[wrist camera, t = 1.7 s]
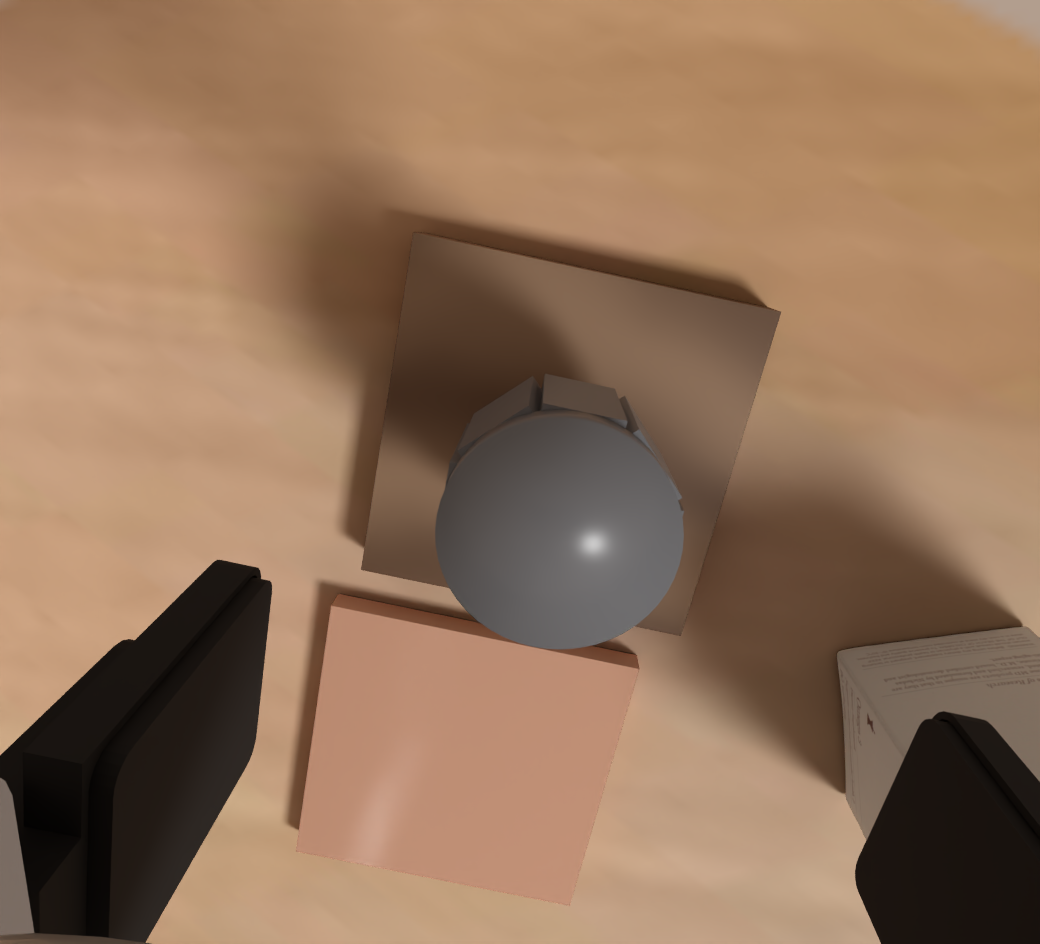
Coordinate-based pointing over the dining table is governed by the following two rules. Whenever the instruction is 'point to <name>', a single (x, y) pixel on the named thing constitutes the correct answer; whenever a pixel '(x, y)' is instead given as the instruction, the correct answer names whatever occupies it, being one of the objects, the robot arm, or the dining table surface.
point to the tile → (459, 750)
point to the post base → (564, 353)
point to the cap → (559, 516)
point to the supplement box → (933, 702)
